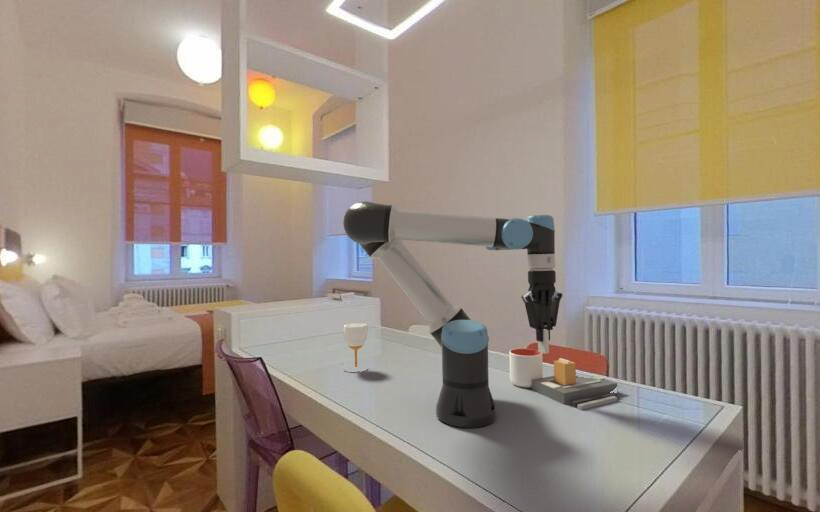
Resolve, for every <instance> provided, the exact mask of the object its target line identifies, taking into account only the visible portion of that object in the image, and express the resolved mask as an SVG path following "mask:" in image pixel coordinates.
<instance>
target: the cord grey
mask: <svg viewBox="0 0 820 512" xmlns="http://www.w3.org/2000/svg"><path fill="white" fill-rule="evenodd" d="M615 402H618V398H617V397H615V396H611V397H606V398H602V399H598V400H594V401H590V402H586V403H582V404H578V405H577V407H576V408H577V409H578V410H579V411H583V410H586V409H591V408H594V407H598V406H602V405H607V404H611V403H615Z"/></svg>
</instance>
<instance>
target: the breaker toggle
mask: <svg viewBox="0 0 820 512" xmlns="http://www.w3.org/2000/svg"><path fill="white" fill-rule="evenodd" d="M576 367H577V366H576V362H574V361H571V360H568V359H564V358H562V357H559V358H558V360H553V376H554V381H555V382H558V383H560V384H563V385H570V384H576V372H577V371H576V369H577V368H576Z"/></svg>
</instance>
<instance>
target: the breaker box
mask: <svg viewBox="0 0 820 512" xmlns="http://www.w3.org/2000/svg"><path fill="white" fill-rule="evenodd" d="M582 372H584V371H582ZM592 374H593V373H592ZM593 375H595V374H593ZM578 376H579V375H576V384H570V385H563V384H560V383H558V382H555V381H554V375H552V376H546V377H543V378H539V379H533V380H532V388H531V390H533V391H535V392H537V393H538V394H540V395H543V396H545V397H546V398H547V397H548V398H549V399H552V400H553V401H556V402H558V403H560V404H562V405H567V404H571V401H573V400H578V399H583V398H588V397H593V396H598V395H603V394H608V393H610V392H611V391H613V390H614V389H615V388H616V387H617V388H618V383H617V382H615V381H612V380H609V379H606V377H603V376H600V375H597V376H598V377H597V376H596V377H592V378H584V377H578ZM593 378H594V379H593ZM605 379H606V380H605Z"/></svg>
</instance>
